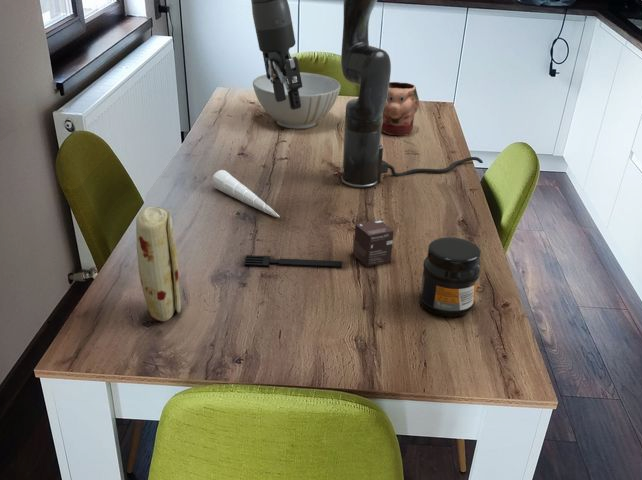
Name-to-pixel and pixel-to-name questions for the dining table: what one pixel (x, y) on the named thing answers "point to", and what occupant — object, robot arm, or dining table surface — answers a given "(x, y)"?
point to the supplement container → (450, 276)
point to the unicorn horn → (239, 191)
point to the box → (373, 243)
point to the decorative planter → (400, 108)
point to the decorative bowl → (313, 97)
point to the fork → (289, 262)
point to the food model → (158, 262)
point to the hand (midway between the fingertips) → (288, 104)
